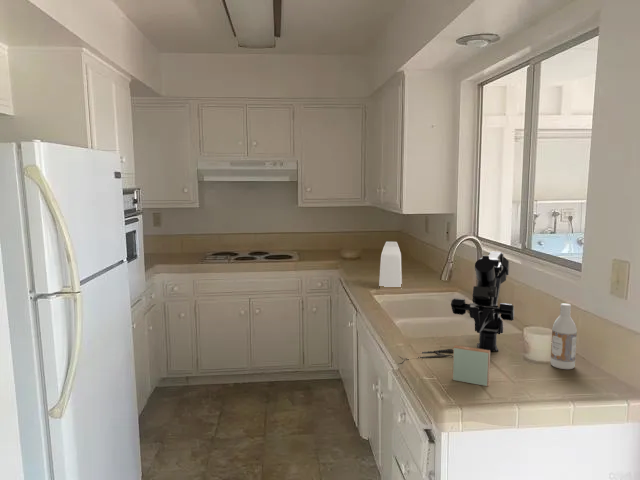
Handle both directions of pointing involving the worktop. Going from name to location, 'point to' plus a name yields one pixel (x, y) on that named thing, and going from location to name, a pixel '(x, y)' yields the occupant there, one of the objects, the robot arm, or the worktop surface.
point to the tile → (471, 365)
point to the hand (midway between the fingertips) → (478, 332)
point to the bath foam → (564, 339)
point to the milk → (390, 266)
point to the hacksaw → (435, 355)
